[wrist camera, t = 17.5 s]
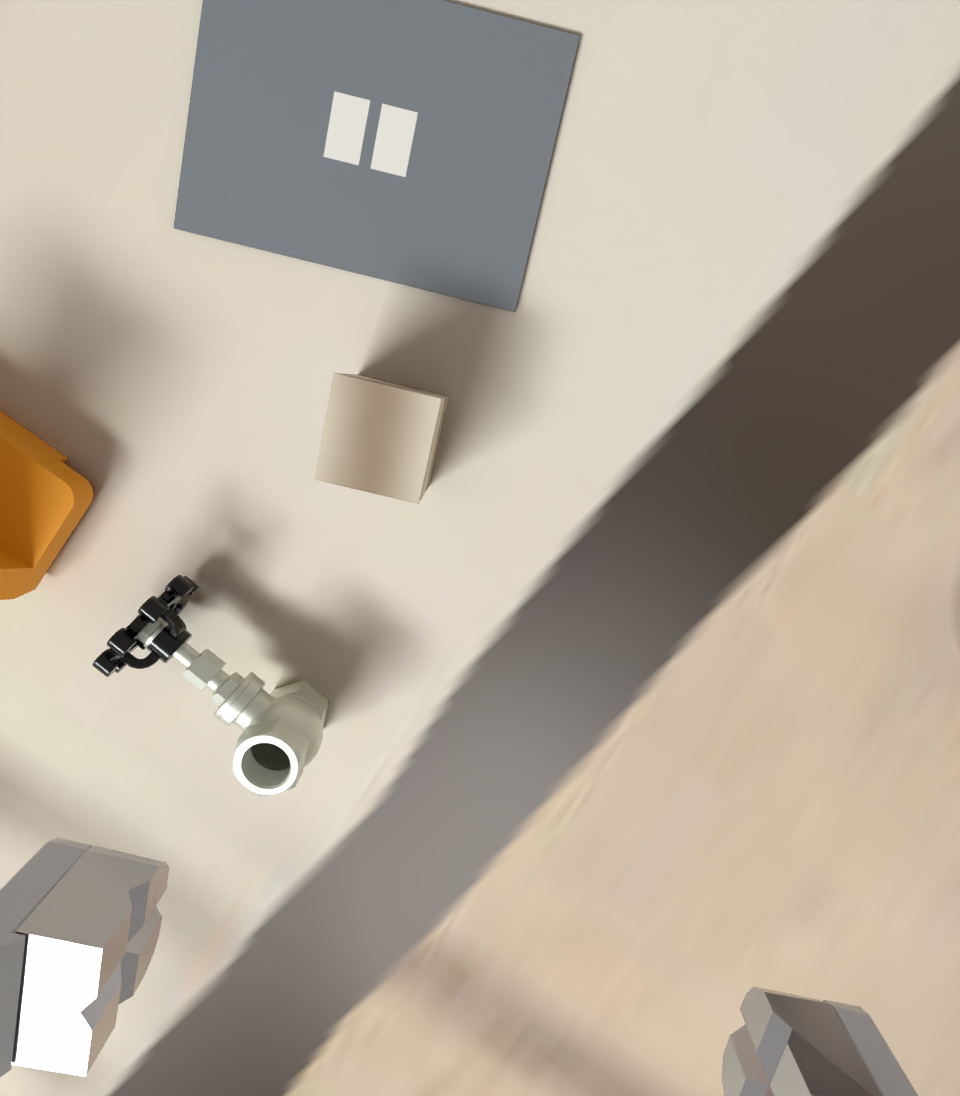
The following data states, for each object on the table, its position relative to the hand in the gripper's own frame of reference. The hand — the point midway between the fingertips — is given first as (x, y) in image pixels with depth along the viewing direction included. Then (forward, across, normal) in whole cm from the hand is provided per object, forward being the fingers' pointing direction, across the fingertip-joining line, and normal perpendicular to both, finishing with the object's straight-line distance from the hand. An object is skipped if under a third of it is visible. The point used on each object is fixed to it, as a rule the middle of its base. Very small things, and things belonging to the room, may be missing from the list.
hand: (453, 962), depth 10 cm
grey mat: (+31, +10, -18) cm, 37 cm away
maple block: (+31, +6, -4) cm, 32 cm away
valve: (+32, +12, +12) cm, 35 cm away
